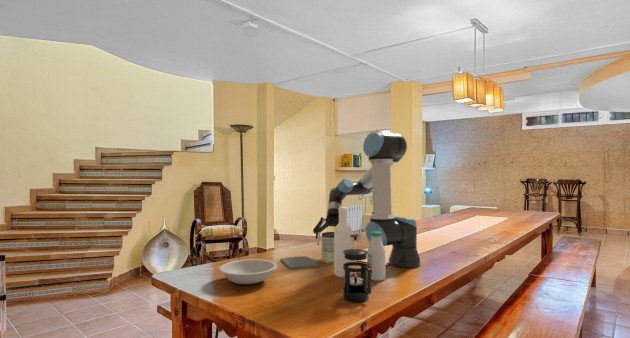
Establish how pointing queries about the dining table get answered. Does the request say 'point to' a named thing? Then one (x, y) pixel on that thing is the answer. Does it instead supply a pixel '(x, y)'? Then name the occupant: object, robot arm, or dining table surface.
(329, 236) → the coffee can
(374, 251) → the milk bottle
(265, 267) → the soup bowl
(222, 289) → the dining table surface
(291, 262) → the grey mat
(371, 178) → the robot arm
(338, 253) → the bottle
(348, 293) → the french press
